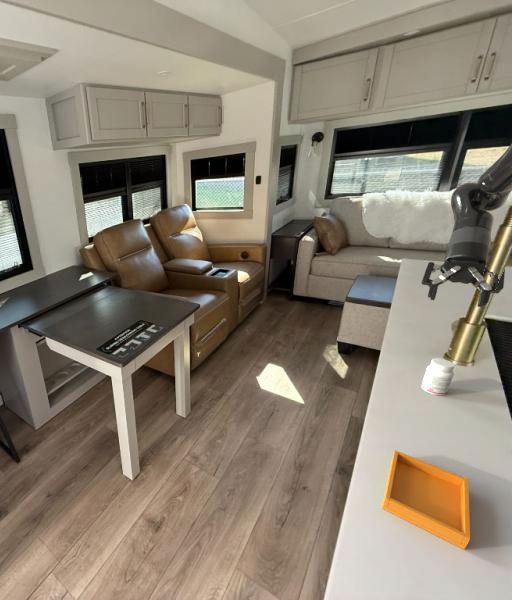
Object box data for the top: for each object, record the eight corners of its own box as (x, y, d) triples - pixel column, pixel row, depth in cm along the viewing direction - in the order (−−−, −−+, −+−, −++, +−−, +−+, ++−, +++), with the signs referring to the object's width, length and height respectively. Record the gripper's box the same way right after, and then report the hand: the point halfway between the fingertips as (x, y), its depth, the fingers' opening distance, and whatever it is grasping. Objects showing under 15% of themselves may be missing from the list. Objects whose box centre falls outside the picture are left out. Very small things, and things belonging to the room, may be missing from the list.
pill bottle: (451, 394, 79) (462, 366, 76) (435, 397, 79) (446, 369, 76) (431, 382, 84) (440, 355, 81) (415, 385, 83) (424, 359, 80)
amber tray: (463, 489, 58) (468, 479, 57) (464, 550, 50) (470, 539, 49) (391, 459, 65) (394, 449, 64) (381, 508, 57) (385, 497, 56)
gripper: (433, 238, 86) (420, 291, 83) (514, 242, 77) (503, 302, 74) (428, 252, 92) (415, 302, 89) (503, 257, 82) (492, 313, 79)
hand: (455, 302), depth 81 cm, fingers open, 8 cm apart
